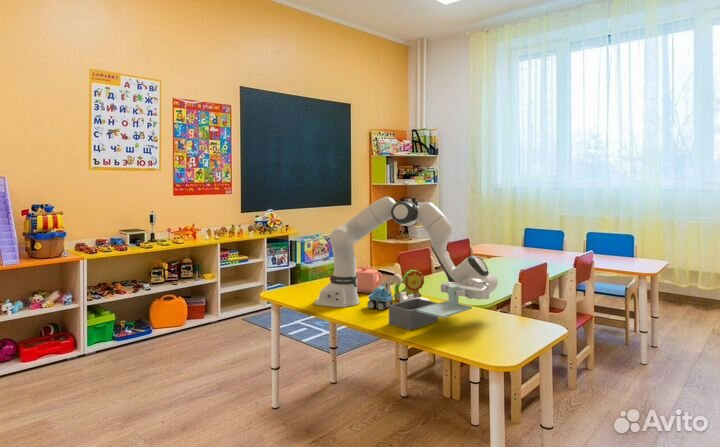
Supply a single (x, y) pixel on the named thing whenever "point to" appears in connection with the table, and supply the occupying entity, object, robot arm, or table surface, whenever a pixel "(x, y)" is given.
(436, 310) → the lid
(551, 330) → the table surface
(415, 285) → the toy lion
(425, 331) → the table surface
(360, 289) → the teapot
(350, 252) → the robot arm
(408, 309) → the tub
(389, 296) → the toy excavator
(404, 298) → the bracket
